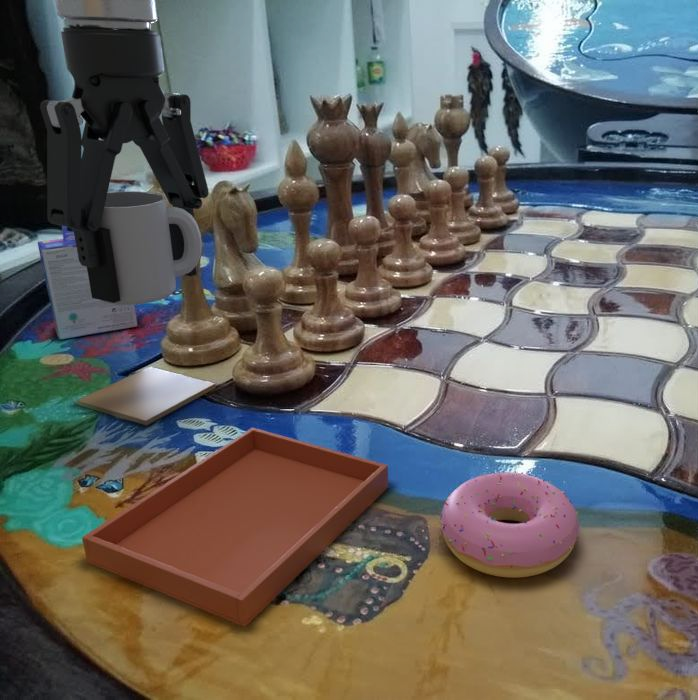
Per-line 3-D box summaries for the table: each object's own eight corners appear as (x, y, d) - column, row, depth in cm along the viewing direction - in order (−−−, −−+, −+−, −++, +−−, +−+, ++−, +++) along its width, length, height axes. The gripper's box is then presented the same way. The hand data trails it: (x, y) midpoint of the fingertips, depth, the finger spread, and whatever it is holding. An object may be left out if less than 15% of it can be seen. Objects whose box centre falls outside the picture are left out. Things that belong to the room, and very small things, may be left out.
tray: (86, 562, 55) (81, 537, 54) (254, 447, 71) (252, 427, 70) (245, 627, 49) (242, 600, 48) (388, 487, 65) (388, 464, 64)
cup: (91, 286, 71) (75, 194, 67) (199, 274, 75) (189, 187, 72) (97, 310, 65) (80, 210, 62) (213, 296, 70) (204, 202, 66)
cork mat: (77, 405, 78) (76, 400, 78) (150, 371, 87) (149, 366, 86) (146, 425, 74) (145, 420, 74) (216, 388, 83) (215, 383, 83)
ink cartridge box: (131, 315, 104) (115, 213, 98) (140, 327, 100) (124, 222, 94) (53, 328, 98) (31, 221, 93) (59, 341, 94) (36, 230, 89)
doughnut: (602, 571, 56) (608, 525, 54) (466, 603, 52) (467, 555, 50) (541, 493, 65) (544, 452, 63) (422, 516, 61) (422, 473, 60)
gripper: (20, 22, 50) (77, 328, 59) (234, 30, 68) (253, 264, 77) (-49, 19, 53) (14, 311, 62) (174, 27, 71) (199, 254, 80)
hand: (147, 285), depth 70 cm, fingers closed on cup, 9 cm apart
